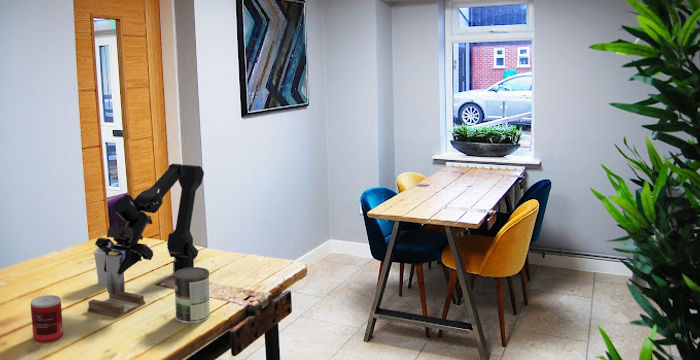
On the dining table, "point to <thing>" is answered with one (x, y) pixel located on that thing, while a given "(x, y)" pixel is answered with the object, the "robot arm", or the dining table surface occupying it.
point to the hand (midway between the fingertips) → (112, 272)
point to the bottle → (114, 272)
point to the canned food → (46, 318)
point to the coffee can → (192, 295)
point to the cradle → (117, 304)
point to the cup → (100, 267)
